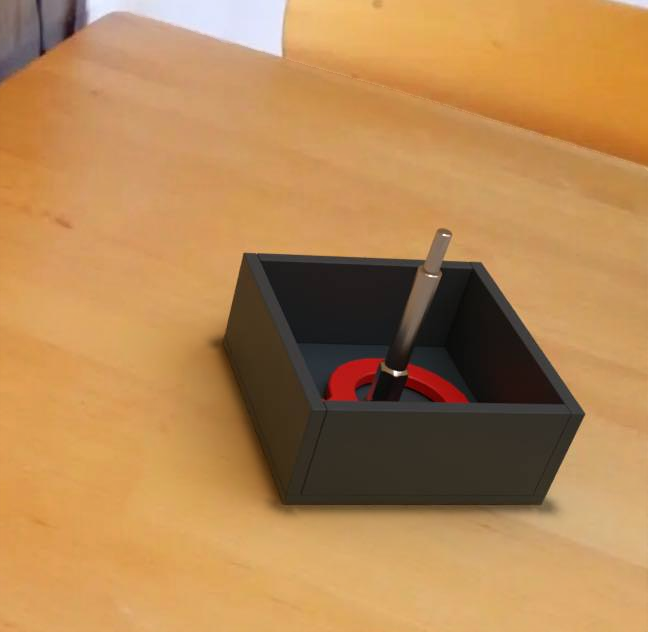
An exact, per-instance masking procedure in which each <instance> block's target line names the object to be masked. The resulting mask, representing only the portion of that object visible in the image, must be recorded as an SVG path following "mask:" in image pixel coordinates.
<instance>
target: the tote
mask: <svg viewBox="0 0 648 632" xmlns="http://www.w3.org/2000/svg"><path fill="white" fill-rule="evenodd" d="M425 261H426V259H416V258H415V259H414V258H412V259H410V258H389V257H388V258H387V257H365V256H364V257H362V256H361V257H360V256H341V255H340V256H339V255H338V256H337V255H314V254H289V253H268V252H267V253H266V252H265V253H264V252H243V253H242V257H241V263H240V266H239V270H238V276H237V278H236V283H235V288H234V293H233V296H232V301H231V305H230V310H229V314H228V318H227V323H226V327H225V331H224V335H223V340H222V344H223V347H224V349H225V352H226V354H227V355H226V356H227V357H228V361H229V363H230V365H231V368H232V370H233V373H234V376H235V378H236V381H237V384H238V387H239V389H240V392H241V395H242V397H243V400H244V402H245V405H246V408H247V411H248V414H249V416H250V419H251V421H252V424H253V427H254V429H255V432H256V435H257V437H258V440H259V443H260V446H261V449H262V451H263V453H264V456H265V459H266V462H267V465H268V466H269V469H270V473H271V474H272V477H273V480H274V483H275V485H276V488H277V491H278V493H279V496H280V499H281V501H282V504H283V505H542V504H543V503H544V500H545V499H546V497H547V496H548V495H547V494H548V493H549V490H550V488H551V486H552V484H553V482H554V481H555V479H556V476H557V474H558V472H559V470H560V467H561V466H562V463H563V462H564V459H565V457H566V455H567V453H568V451H569V449H570V447H571V446H572V443H573V441H574V439H575V436H576V434H577V433H578V431H579V428H580V427H581V424H582V422H583V420H584V418H585V416H586V411H584V408H582V406H581V404H579V402H578V401H577V399H576V397H575V396H574V395H573V393H572V392H571V390H570V389H569V387H568V386H567V384H566V383H565V381H564V380H563V379H562V377H561V376H560V374H559V373H558V371H557V369H556V368H555V367H554V366H553V364H552V362H551V361H550V360H549V358H548V357H547V355H546V354H545V353H544V351H543V350H542V348H541V347H540V345H539V344H538V343H537V341H536V339H535V338H534V336H533V335H532V334H531V332H530V331H529V330H528V327H527V326H526V324H525V323H524V322H523V321H522V319H521V317H520V316H519V315H518V313H517V312H516V310H515V309H514V308H513V306H512V304H511V302H509V300H508V299H507V297H506V296H505V295H504V293H503V291H502V290H501V288H500V287H499V286H498V284H497V283H496V281H495V279H494V278H493V277H492V276H491V274H490V272H489V271H488V269H487V268H486V267H485V265H484V264H483V262H482V261H461V260H459V261H458V260H443V261H442V264H441V267H440V269H439V270H440V271H441V273H442V276H441V279H440V282H439V284H438V287H437V290H436V292H435V295H434V297H433V300H432V303H431V305H430V308H429V311H428V313H427V316H426V319H425V321H424V324H423V327H422V329H421V332H420V335H419V337H418V340H417V342H416V345H415V348H414V350H413V353H412V356H411V358H410V361H409V364H411V365H414V366H418V367H420V368H422V369H425V370H427V371H429V372H432V373H434V374H436V375H438V376H439V377H441V378H443V379H444V380H446V381H447V382H449V383H451V384H452V385H453V386H454V387H455V388H456V389H458V390H459V391H460V392H461V393H462V394H463V395H464V396H465V397H466V399H467V400H468V401H469V403H446V402H434V401H433V400H432V399H430V398H428V397H427V396H425V395H424V394H422V393H420V392H418V391H416V390H414V389H411V388H409V387H405V386H404V389H403V392H402V394H401V397H400V400H399V402H387V401H361V400H362V399H363V398H364V397H365V396H367V395H368V394H369V392H370V388H371V385H372V382H371V383H366V384H363V385H361V386H359V387H357V388H356V390H355V395H356V398H357V399H358V401H328V400H327V398H326V393H325V392H326V389H327V386H328V382H329V379H330V376H331V374H332V373H333V372H334V371H335V370H336V369H337V368H338V367H339V366H341V365H343V364H345V363H348V362H350V361H355V360H360V359H366V358H367V359H386V356H387V353H388V351H389V348H390V345H391V342H392V339H393V337H394V334H395V331H396V328H397V326H398V323H399V320H400V317H401V315H402V312H403V309H404V306H405V304H406V301H407V298H408V295H409V293H410V290H411V287H412V284H413V282H414V279H415V276H416V273H417V270H418V268H419V266H421V265H424V264H425ZM322 399H324V401H322Z"/></svg>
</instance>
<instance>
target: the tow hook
mask: <svg viewBox="0 0 648 632" xmlns="http://www.w3.org/2000/svg"><path fill="white" fill-rule="evenodd" d="M452 237H453V233H452V231H451V230H450V229H447V228H444V227H440V228H437V229H436V231H435V234H434V237H433V239H432V242H431V245H430V247H429V250H428V253H427V256H426V258H425V260H426V261H425V264H424V265H421V266H419V268H418V270H417V273H416V276H415V279H414V282H413V284H412V287H411V290H410V293H409V295H408V298H407V301H406V304H405V306H404V309H403V312H402V315H401V317H400V320H399V323H398V326H397V328H396V331H395V334H394V337H393V339H392V342H391V345H390V348H389V351H388V353H387V356H386V359H367V358H366V359H360V360H355V361H350V362H348V363H345V364H343V365H341V366H339V367H338V368H337V369H336V370H335V371H334V372H333V373H332V374H331V376H330V379H329V382H328V386H327V389H326V392H325V393H326V398H327V400H328V401H358V399H357V398H356V395H355V390H356V388H357V387H359V386H361V385H363V384H366V383H371V382H372V385H371V388H370V392H369V394H368V395H367V396H365V397H364V398H363V399H362V400H361V401H387V402H399V400H400V397H401V394H402V392H403V389H404V386H405V387H409V388H411V389H414V390H416V391H418V392H420V393H422V394H424V395H425V396H427V397H428V398H430V399H432V400H433V401H434V402H446V403H469V401H468V400H467V399H466V397H465V396H464V395H463V394H462V393H461V392H460V391H459V390H458V389H456V388H455V387H454V386H453V385H452V384H451V383H449V382H447V381H446V380H444V379H443V378H441V377H439V376H438V375H436V374H434V373H432V372H429V371H427V370H425V369H422V368H420V367H418V366H414V365H411V364H409V361H410V358H411V356H412V353H413V350H414V348H415V345H416V342H417V340H418V337H419V335H420V332H421V329H422V327H423V324H424V321H425V319H426V316H427V313H428V311H429V308H430V305H431V303H432V300H433V297H434V295H435V292H436V290H437V287H438V284H439V282H440V279H441V276H442V273H441V271H440V270H439V269H440V267H441V264H442V261H444V259H445V255H446V253H447V250H448V248H449V245H450V242H451V240H452ZM322 401H324V399H322Z"/></svg>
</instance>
